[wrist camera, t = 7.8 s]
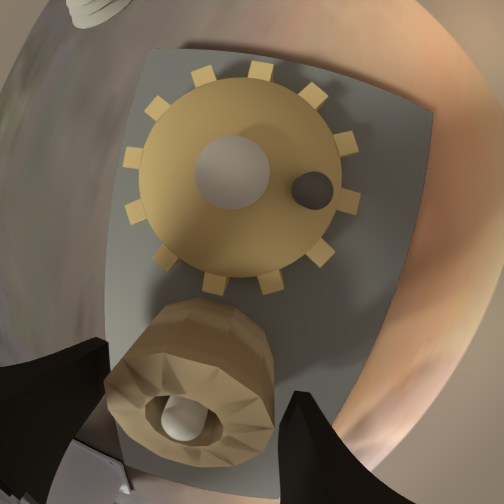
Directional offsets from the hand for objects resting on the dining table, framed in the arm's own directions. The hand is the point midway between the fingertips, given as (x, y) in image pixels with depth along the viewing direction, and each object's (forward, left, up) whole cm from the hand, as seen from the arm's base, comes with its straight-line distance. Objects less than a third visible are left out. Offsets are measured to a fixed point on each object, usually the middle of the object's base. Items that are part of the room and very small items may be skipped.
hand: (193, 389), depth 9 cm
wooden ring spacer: (0, 0, -2) cm, 2 cm away
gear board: (+1, 0, -4) cm, 4 cm away
